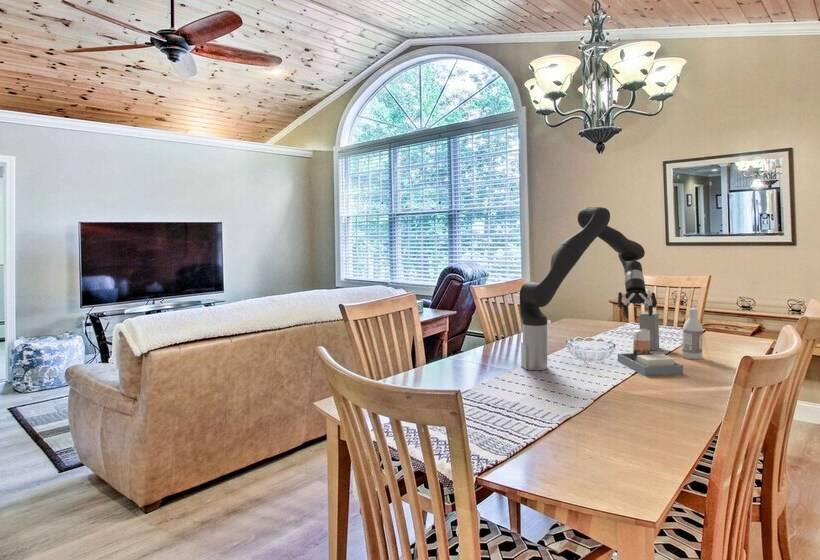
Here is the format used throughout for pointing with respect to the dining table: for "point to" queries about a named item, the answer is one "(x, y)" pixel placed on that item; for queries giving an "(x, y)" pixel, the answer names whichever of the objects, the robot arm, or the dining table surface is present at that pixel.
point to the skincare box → (651, 327)
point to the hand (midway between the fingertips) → (638, 314)
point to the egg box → (655, 360)
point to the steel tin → (641, 343)
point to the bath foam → (692, 336)
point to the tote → (649, 371)
